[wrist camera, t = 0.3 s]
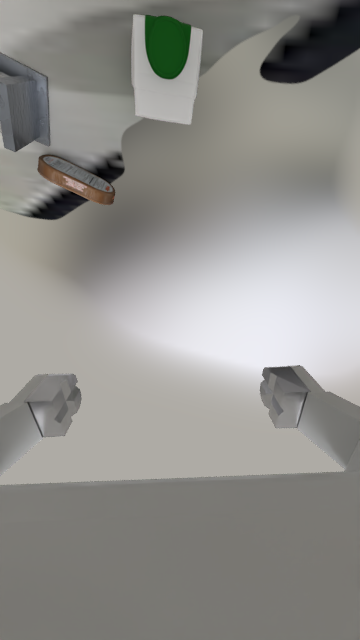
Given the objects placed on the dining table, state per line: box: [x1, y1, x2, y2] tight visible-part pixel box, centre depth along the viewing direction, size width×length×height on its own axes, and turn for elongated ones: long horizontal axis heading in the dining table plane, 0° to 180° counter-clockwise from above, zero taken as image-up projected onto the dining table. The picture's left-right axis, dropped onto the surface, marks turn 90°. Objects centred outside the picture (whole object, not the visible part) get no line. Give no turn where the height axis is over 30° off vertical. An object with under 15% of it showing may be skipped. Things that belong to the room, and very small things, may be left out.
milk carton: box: [131, 14, 203, 125], centre depth 31 cm, size 9×9×20 cm
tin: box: [38, 155, 115, 205], centre depth 45 cm, size 15×3×8 cm, turn 62°
